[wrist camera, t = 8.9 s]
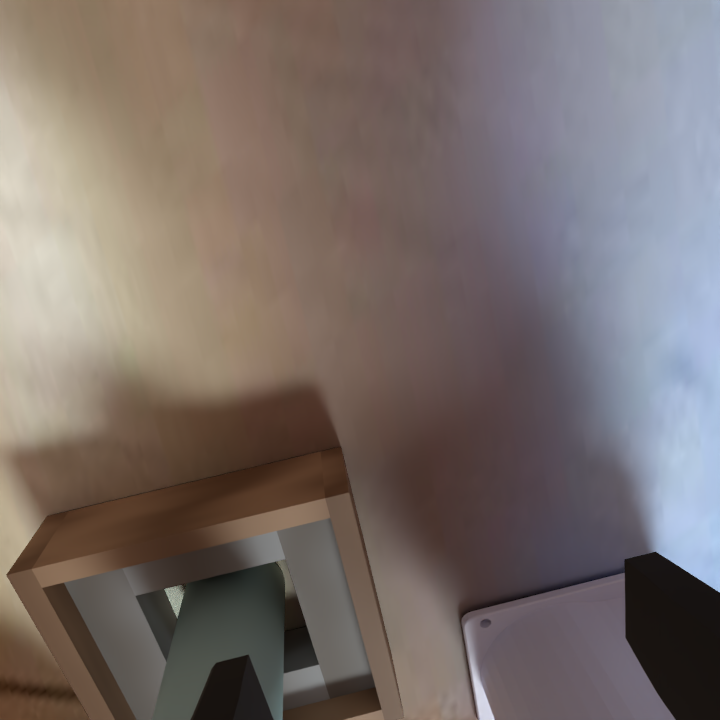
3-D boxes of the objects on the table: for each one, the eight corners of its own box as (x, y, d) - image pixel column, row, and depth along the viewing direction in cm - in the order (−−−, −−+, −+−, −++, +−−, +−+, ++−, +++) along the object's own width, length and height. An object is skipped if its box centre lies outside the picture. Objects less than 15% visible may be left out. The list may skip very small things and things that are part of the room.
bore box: (341, 446, 20) (349, 492, 17) (391, 653, 24) (404, 718, 21) (47, 516, 19) (6, 574, 17) (149, 715, 24) (130, 789, 21)
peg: (275, 540, 21) (264, 787, 13) (292, 615, 23) (292, 881, 14) (175, 558, 21) (96, 822, 12) (199, 633, 22) (142, 914, 14)
